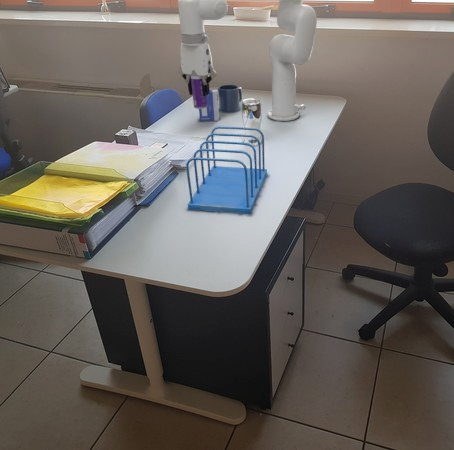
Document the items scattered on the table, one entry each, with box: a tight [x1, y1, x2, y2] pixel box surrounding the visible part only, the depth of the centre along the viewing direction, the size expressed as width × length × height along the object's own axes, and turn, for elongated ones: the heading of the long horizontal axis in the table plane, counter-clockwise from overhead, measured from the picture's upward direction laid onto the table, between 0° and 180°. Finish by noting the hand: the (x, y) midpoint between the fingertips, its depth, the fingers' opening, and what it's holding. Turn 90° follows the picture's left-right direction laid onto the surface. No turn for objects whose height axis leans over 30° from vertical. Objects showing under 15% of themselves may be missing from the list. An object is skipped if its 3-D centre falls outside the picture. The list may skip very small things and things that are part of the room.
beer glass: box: [241, 98, 263, 147], centre depth 163 cm, size 7×7×15 cm
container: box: [191, 70, 207, 110], centre depth 159 cm, size 5×5×15 cm
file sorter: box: [185, 126, 268, 215], centre depth 131 cm, size 25×17×15 cm
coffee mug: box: [217, 84, 243, 114], centre depth 199 cm, size 12×9×10 cm
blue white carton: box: [198, 89, 220, 122], centre depth 185 cm, size 8×3×12 cm, turn 98°
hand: (199, 94), depth 160 cm, fingers closed on container, 4 cm apart
